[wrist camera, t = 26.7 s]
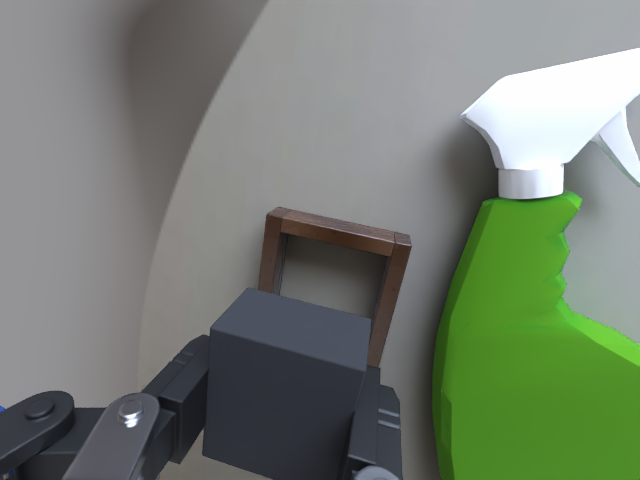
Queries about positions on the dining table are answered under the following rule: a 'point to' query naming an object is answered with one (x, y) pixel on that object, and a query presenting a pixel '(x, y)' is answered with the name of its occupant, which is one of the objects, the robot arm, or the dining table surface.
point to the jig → (344, 235)
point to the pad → (283, 386)
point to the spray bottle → (537, 295)
